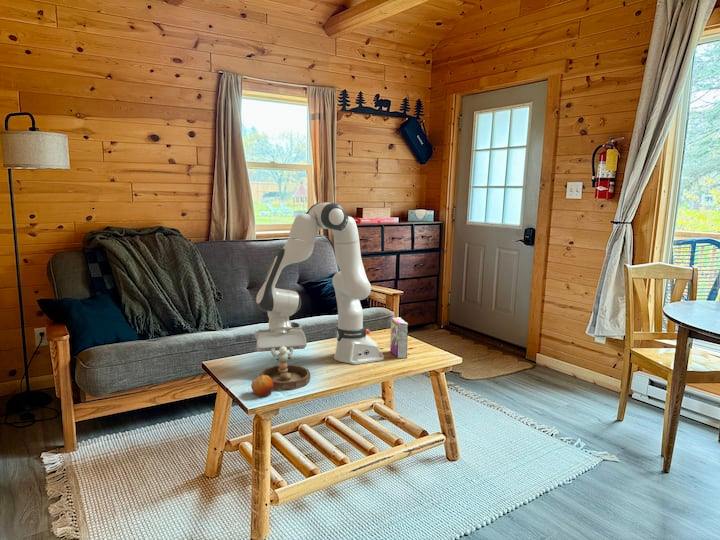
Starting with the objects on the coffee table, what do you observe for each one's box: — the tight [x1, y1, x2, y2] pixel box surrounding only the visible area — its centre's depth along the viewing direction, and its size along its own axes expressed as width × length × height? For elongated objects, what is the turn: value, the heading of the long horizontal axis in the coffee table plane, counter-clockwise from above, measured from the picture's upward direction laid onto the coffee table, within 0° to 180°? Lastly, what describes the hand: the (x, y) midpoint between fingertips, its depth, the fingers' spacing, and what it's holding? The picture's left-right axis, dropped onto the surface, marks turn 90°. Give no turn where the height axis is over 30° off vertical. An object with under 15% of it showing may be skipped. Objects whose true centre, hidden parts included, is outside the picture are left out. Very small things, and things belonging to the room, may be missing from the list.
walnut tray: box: [259, 364, 311, 391], centre depth 196 cm, size 19×19×3 cm
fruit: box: [250, 375, 274, 398], centre depth 182 cm, size 8×8×8 cm
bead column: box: [277, 346, 289, 373], centre depth 200 cm, size 4×4×10 cm
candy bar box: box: [389, 317, 409, 360], centre depth 229 cm, size 11×5×16 cm, turn 14°
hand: (283, 359), depth 199 cm, fingers closed on bead column, 4 cm apart
